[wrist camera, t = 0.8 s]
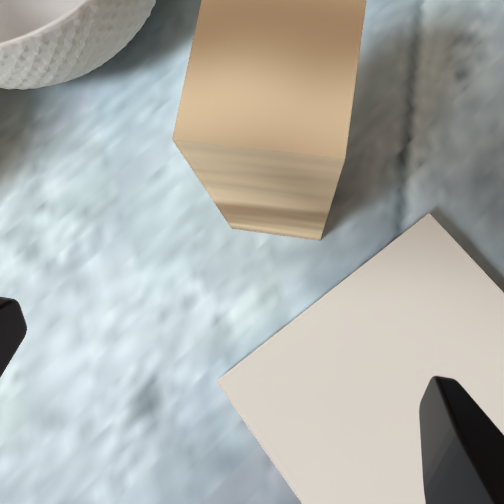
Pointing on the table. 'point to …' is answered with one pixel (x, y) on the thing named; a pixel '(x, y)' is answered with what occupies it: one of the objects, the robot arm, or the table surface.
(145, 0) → the cereal bowl
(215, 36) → the beech block
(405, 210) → the table surface
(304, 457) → the plate
